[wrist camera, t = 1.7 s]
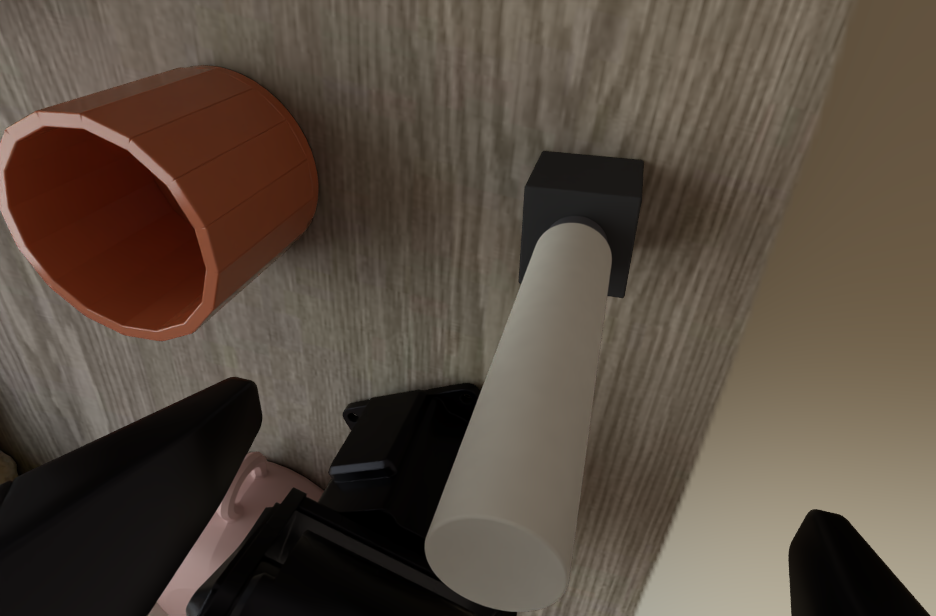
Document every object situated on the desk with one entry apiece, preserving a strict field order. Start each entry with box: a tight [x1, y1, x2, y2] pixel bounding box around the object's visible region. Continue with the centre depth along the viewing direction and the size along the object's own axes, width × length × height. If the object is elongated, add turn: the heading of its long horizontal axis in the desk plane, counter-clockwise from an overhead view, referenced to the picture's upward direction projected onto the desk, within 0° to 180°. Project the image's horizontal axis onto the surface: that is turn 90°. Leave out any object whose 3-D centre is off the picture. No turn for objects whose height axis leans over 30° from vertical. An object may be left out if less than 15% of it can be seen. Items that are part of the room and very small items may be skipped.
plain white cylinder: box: [425, 216, 612, 612], centre depth 12 cm, size 2×2×10 cm
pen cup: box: [0, 65, 319, 341], centre depth 19 cm, size 7×7×6 cm
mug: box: [157, 452, 324, 616], centre depth 29 cm, size 12×10×6 cm
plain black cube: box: [519, 151, 644, 298], centre depth 17 cm, size 3×3×3 cm
